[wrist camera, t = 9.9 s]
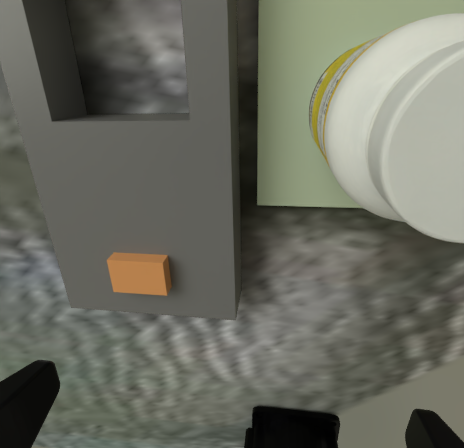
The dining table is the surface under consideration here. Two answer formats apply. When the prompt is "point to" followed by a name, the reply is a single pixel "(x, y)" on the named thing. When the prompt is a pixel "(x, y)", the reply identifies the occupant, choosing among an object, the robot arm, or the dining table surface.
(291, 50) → the pad
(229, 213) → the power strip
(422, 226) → the supplement bottle
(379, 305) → the dining table surface
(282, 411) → the robot arm
